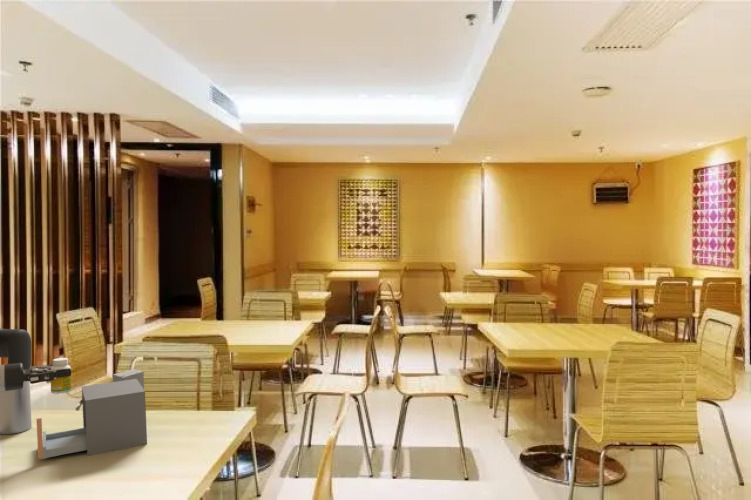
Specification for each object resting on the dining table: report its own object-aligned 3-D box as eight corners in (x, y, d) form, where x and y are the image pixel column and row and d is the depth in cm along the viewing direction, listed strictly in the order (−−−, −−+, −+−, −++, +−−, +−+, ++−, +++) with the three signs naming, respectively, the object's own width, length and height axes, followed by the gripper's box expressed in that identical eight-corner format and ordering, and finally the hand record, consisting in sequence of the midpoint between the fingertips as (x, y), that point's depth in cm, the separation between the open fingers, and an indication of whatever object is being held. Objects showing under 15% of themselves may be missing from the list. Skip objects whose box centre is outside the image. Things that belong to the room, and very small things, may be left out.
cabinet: (83, 437, 179) (81, 386, 179) (138, 427, 187) (136, 378, 187) (87, 455, 164) (85, 400, 163) (147, 443, 172) (144, 391, 171)
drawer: (38, 443, 172) (37, 406, 172) (98, 432, 180) (97, 397, 180) (38, 459, 159) (36, 420, 159) (103, 447, 167) (101, 409, 167)
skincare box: (135, 412, 204) (133, 368, 203) (147, 415, 200) (145, 370, 199) (112, 418, 197) (110, 373, 196) (124, 422, 193) (122, 375, 192)
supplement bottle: (65, 394, 168) (64, 361, 167) (46, 394, 168) (46, 361, 167) (75, 389, 173) (74, 357, 173) (57, 389, 173) (56, 357, 173)
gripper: (1, 369, 157) (71, 361, 165) (4, 360, 169) (69, 353, 178) (2, 396, 157) (72, 387, 165) (5, 385, 169) (70, 377, 178)
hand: (70, 370), depth 171 cm, fingers closed on supplement bottle, 5 cm apart
